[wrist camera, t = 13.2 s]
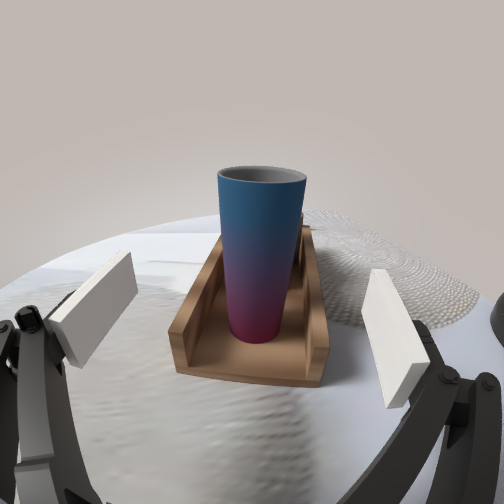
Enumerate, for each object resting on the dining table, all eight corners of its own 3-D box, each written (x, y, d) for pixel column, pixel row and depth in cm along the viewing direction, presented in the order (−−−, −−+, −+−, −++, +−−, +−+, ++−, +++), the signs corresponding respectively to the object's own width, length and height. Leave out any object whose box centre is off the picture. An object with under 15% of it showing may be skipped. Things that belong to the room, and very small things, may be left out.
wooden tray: (318, 387, 22) (335, 327, 19) (176, 372, 23) (164, 310, 20) (306, 255, 45) (311, 213, 42) (229, 249, 47) (229, 207, 44)
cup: (295, 315, 30) (313, 171, 23) (276, 359, 24) (295, 187, 17) (236, 300, 32) (238, 163, 25) (208, 338, 26) (200, 176, 20)
